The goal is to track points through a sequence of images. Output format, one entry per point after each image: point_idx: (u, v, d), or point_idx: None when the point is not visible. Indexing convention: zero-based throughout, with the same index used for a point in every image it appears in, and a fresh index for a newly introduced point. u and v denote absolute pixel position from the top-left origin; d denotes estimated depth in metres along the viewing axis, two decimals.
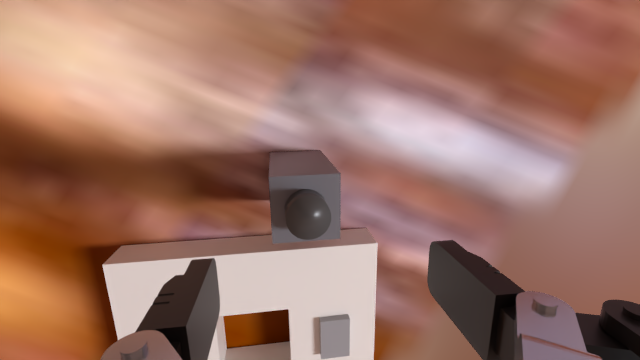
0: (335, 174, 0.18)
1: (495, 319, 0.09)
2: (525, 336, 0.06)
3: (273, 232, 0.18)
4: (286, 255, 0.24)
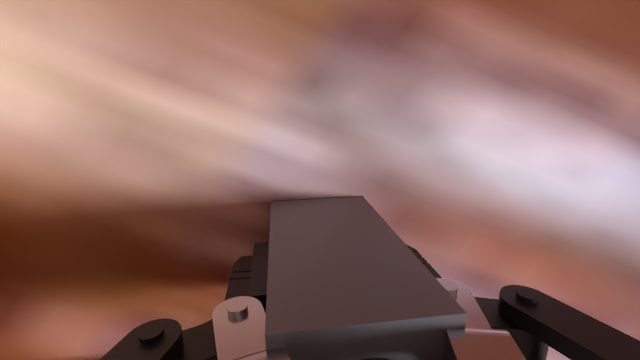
0: (452, 316, 0.06)
1: None
2: (448, 328, 0.06)
3: None
4: None
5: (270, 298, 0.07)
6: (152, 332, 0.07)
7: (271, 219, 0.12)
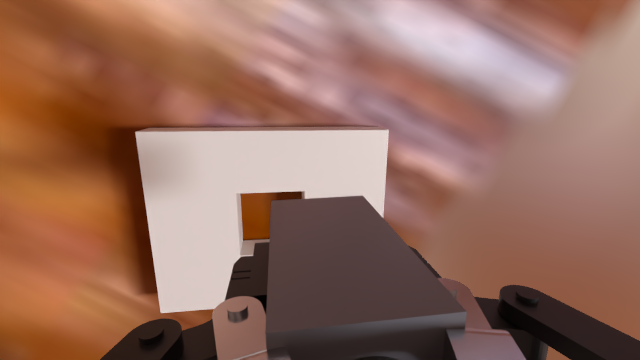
0: (453, 314, 0.06)
1: None
2: (448, 328, 0.06)
3: None
4: (304, 135, 0.26)
5: (271, 297, 0.07)
6: (151, 332, 0.07)
7: (271, 218, 0.12)
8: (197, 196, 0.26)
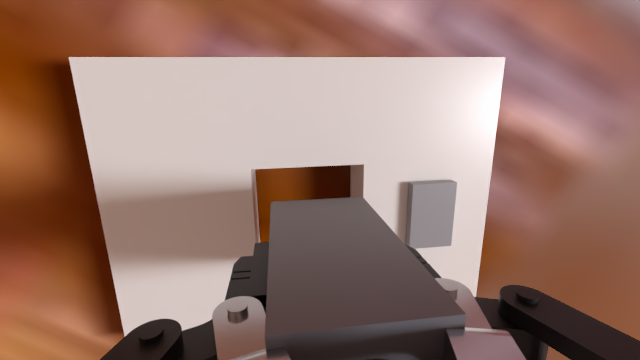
0: (452, 317, 0.06)
1: None
2: (448, 328, 0.06)
3: None
4: (366, 67, 0.15)
5: (270, 299, 0.07)
6: (152, 332, 0.07)
7: (271, 220, 0.12)
8: (184, 175, 0.15)
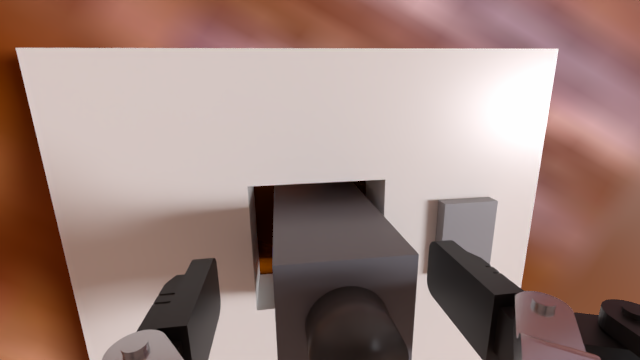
0: (408, 256, 0.09)
1: (494, 319, 0.09)
2: (524, 336, 0.06)
3: None
4: (389, 60, 0.12)
5: (275, 246, 0.09)
6: None
7: (275, 198, 0.14)
8: (165, 194, 0.12)
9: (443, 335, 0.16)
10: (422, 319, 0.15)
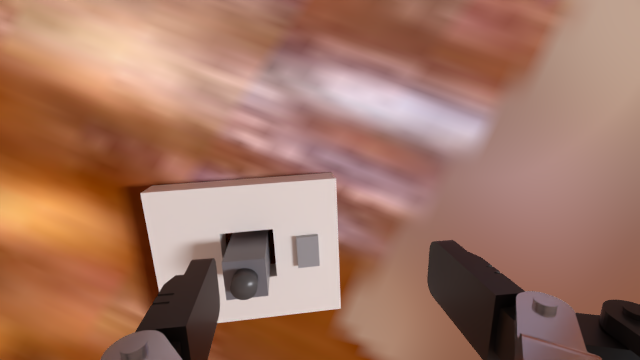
0: (261, 259, 0.30)
1: (495, 319, 0.09)
2: (525, 336, 0.06)
3: (226, 293, 0.31)
4: (269, 187, 0.34)
5: (224, 256, 0.31)
6: None
7: (231, 236, 0.35)
8: (189, 238, 0.34)
9: (307, 292, 0.37)
10: (296, 285, 0.37)
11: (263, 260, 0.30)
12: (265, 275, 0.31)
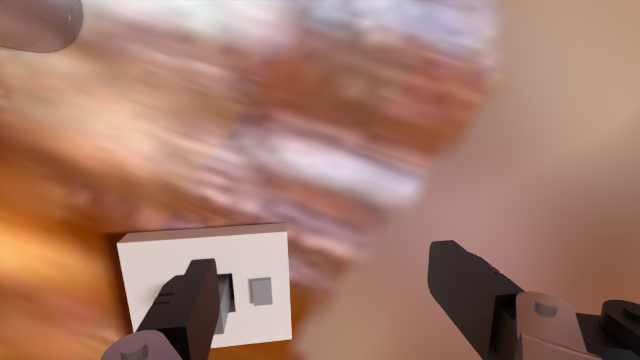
0: None
1: (495, 319, 0.09)
2: (525, 336, 0.06)
3: None
4: (228, 238, 0.39)
5: None
6: None
7: None
8: (159, 280, 0.40)
9: (262, 325, 0.43)
10: (252, 319, 0.43)
11: None
12: (221, 317, 0.36)
